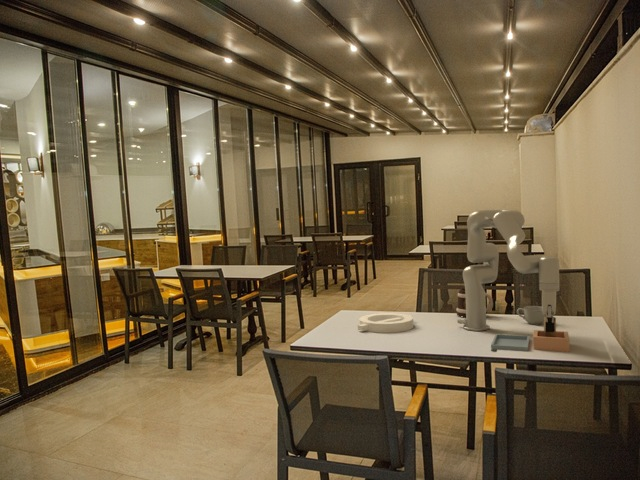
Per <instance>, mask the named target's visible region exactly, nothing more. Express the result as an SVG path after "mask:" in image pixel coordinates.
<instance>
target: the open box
mask: <svg viewBox="0 0 640 480" xmlns="http://www.w3.org/2000/svg"><path fill="white" fill-rule="evenodd" d="M532 339H533V340H532V342H533V343H532V344H533V346H532V347H533V350H538V351H552V352H553V351H554V352H555V351H556V352H570V337H569V331H564V330H563V331H561V330H559V331H558V330H556V337H544V329H543V330H542V329H540V330H539V329H533V333H532Z"/></svg>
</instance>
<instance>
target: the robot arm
mask: <svg viewBox="0 0 640 480" xmlns="http://www.w3.org/2000/svg"><path fill="white" fill-rule="evenodd" d="M524 225H525V216H524V215H523V213H522V212H520V211H519V210H509V209H508V210H507V209H482V210H475V211H473V212H471V213H470V214H469V216H468V217H467V220H466V227H467V228H466V229H467V246H466V247H467V250H466V257H467V261H468V262H470V263H473V265H469V266H466V267H465V268H464V269H463V271H462V279H463V285H464V288H465V297H466V318H464V319H461V318H460V319H457V324H459V325H460V324H461V325H463V329H464V330H467V331H475V332H477V331H478V332H481V331H482V332H483V331H484V332H485V331H488V330H490V328H491V326H490V325H489V324H487V312H486V308H487V303H486V302H487V301H486V298H487V297H486V296H485V293H486V290H485V289H484V287H483V285H482V284H490V283H491V284H492V283H494V282H495V281H496V280H497V278H498V275H499V273H498V272H499V259H500V258H499V257H500V252H499V249H498V247H497V246H496V245H495V243H493V242H487V233H486V231H485V230H484V229H487V228H488V229H489V228H492V229H493V228H496V230H497V231H498V232H499V234H500V235H501V237H502V238H503V240H505V242H506V244H507V246H506V256H507V258H508V261H509V262H510V264H511V265H512V266H513V268H514V269H515V270H516V271H517V272H518V273H520V274H522V275H524V274H527V275H528V274H538V283H539V284H538V287H539V288H538V289H539V291H540V292H541V307H542V314H543V315H544V314H546V332H554V320H553V317H554V316H555V315H556V310H557V292H558V291H560V260H559V258H558V257H556V256H549V255H548V256H546V255H543V254H534V255H533V254H531V255H530V254H528V255H524V254H523V252H522V251H521V250H520V248H519V245H520V244H521V243H522V242H523V241H524V240H525V238H526V233H525V231H524V230H523V229H522V227H523V226H524ZM475 263H476V264H475ZM477 263H483V264H477Z"/></svg>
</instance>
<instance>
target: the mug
mask: <svg viewBox="0 0 640 480" xmlns="http://www.w3.org/2000/svg"><path fill="white" fill-rule="evenodd" d="M485 298H487V299H488V303H489V304H488V307H486V313H487V312H490V311H491V310H492V309H493V307H494V301H493V297H492V295H490V294H489V293H487V292H485ZM456 315H457V316H458V315H459V316H463V317H462V318H464V317H466V297H465V287H464V288H460V289H459V290H458V293H457V306H456ZM459 316H458V317H459Z"/></svg>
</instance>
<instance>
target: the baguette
mask: <svg viewBox="0 0 640 480" xmlns="http://www.w3.org/2000/svg"><path fill="white" fill-rule="evenodd" d="M553 320H554V332H546V317H544V322H543V330H544V337H556V331H557V325H556V324H557V320H556V317H554V316H553Z"/></svg>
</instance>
